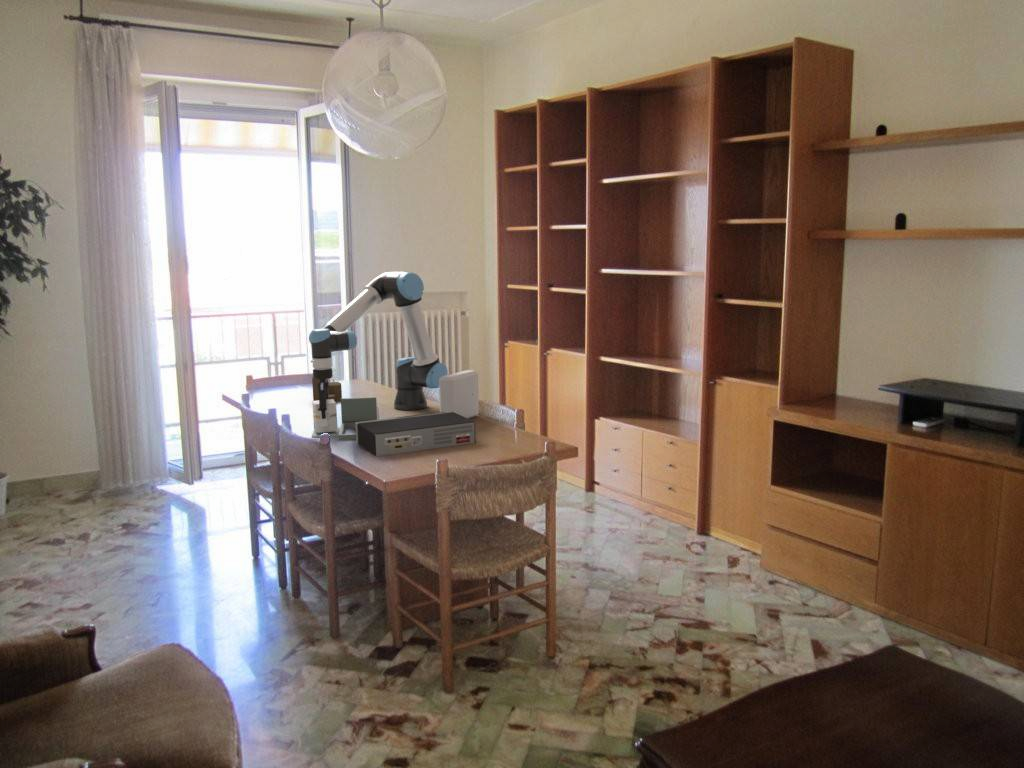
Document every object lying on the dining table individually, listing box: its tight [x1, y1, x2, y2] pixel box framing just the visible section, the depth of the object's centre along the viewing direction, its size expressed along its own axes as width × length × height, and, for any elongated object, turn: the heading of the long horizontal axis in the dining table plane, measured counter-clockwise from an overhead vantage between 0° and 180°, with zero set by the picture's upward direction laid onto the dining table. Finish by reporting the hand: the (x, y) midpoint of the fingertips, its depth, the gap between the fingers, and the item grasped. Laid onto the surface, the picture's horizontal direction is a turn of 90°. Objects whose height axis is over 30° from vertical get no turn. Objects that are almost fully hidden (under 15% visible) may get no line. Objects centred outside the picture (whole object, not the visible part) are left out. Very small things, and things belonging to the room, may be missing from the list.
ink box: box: [312, 399, 339, 433], centre depth 333 cm, size 9×8×12 cm
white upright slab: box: [438, 369, 480, 419], centre depth 355 cm, size 21×8×20 cm, turn 149°
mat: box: [311, 427, 340, 438], centre depth 334 cm, size 10×12×1 cm
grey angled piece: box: [337, 396, 380, 441], centre depth 334 cm, size 16×24×12 cm, turn 8°
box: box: [355, 411, 477, 457], centre depth 317 cm, size 40×25×9 cm, turn 118°
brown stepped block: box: [311, 376, 343, 402], centre depth 399 cm, size 14×14×15 cm
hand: (325, 423), depth 333 cm, fingers closed on ink box, 9 cm apart
